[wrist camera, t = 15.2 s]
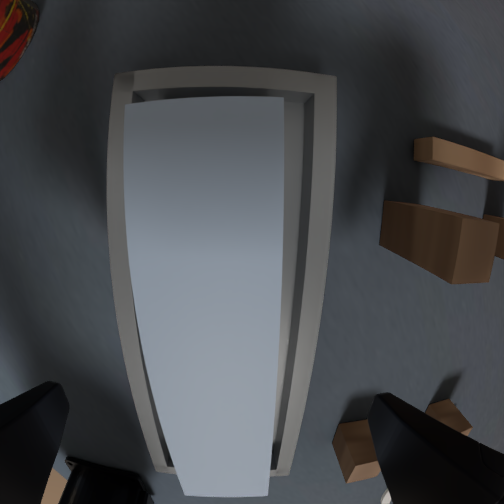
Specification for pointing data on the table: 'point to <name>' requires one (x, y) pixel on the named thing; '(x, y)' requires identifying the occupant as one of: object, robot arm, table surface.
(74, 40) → the table surface
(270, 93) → the tray
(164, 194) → the peg
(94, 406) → the table surface
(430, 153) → the brown wooden stand
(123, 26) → the table surface
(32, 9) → the deodorant
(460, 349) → the table surface
